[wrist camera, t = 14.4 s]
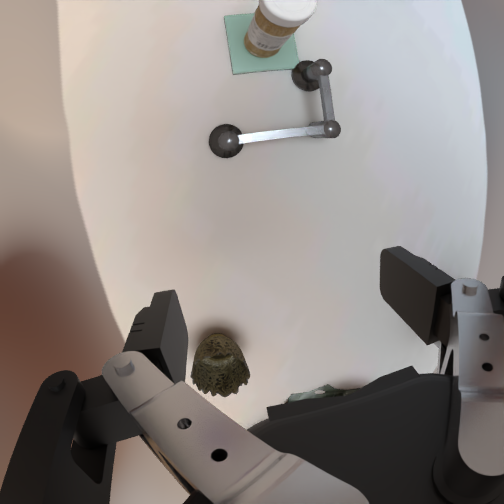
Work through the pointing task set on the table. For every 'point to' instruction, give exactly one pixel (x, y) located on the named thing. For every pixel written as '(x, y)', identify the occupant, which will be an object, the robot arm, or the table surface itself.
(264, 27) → the sprinkles bottle
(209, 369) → the dark brown scalloped piece
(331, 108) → the grey jointed rod frame
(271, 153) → the table surface
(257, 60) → the pad
